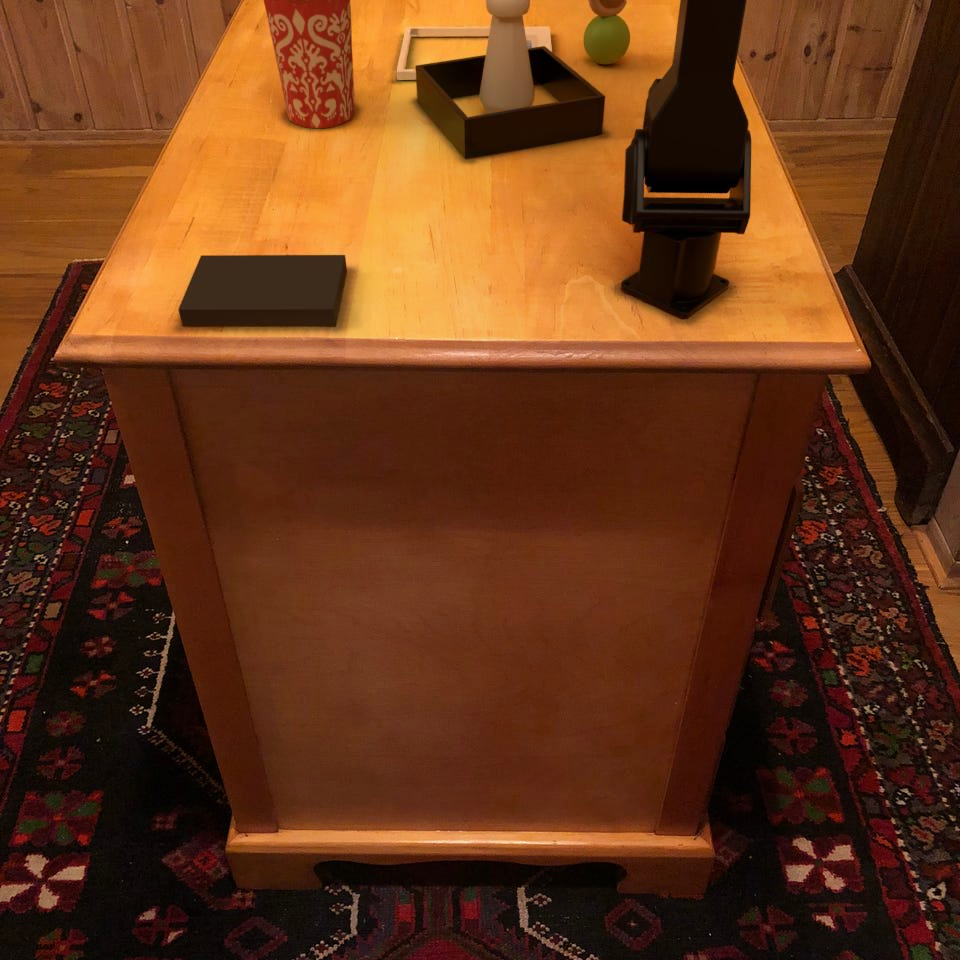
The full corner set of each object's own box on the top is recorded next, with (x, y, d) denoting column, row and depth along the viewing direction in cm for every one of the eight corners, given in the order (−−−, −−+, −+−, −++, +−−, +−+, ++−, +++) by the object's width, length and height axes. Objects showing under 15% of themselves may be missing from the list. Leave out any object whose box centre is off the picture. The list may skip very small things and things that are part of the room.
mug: (358, 133, 99) (344, -6, 90) (272, 132, 99) (249, -6, 90) (373, 86, 108) (361, -45, 99) (294, 85, 109) (275, -45, 99)
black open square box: (602, 134, 98) (605, 96, 96) (465, 159, 94) (464, 120, 92) (543, 81, 109) (544, 45, 106) (417, 102, 105) (415, 65, 102)
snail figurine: (566, 62, 113) (571, -50, 104) (608, 51, 115) (617, -59, 107) (594, 77, 110) (602, -37, 101) (637, 65, 112) (648, -48, 104)
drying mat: (336, 326, 74) (333, 308, 73) (182, 326, 74) (177, 309, 73) (347, 271, 80) (345, 254, 79) (204, 271, 80) (200, 255, 79)
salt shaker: (528, 131, 99) (532, -2, 90) (475, 127, 100) (473, -6, 91) (537, 108, 103) (541, -21, 94) (486, 105, 104) (485, -24, 95)
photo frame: (554, 69, 108) (396, 69, 108) (553, 79, 109) (396, 79, 109) (549, 24, 118) (405, 25, 119) (549, 34, 119) (406, 34, 120)
